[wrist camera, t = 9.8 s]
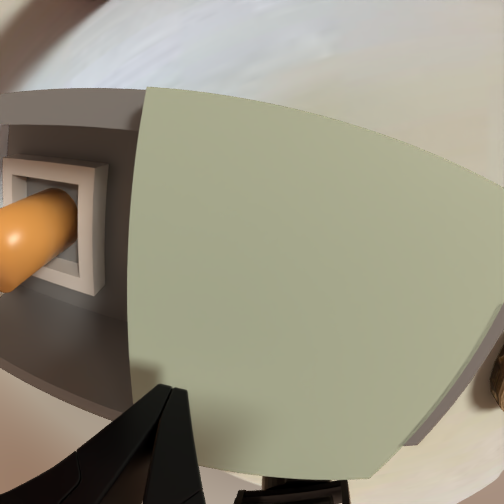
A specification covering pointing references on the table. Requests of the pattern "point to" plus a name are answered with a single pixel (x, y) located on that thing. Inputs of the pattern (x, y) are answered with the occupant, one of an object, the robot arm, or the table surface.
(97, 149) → the housing
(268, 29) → the table surface
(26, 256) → the orange rounded cylinder
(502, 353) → the wood slice coaster
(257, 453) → the lid
